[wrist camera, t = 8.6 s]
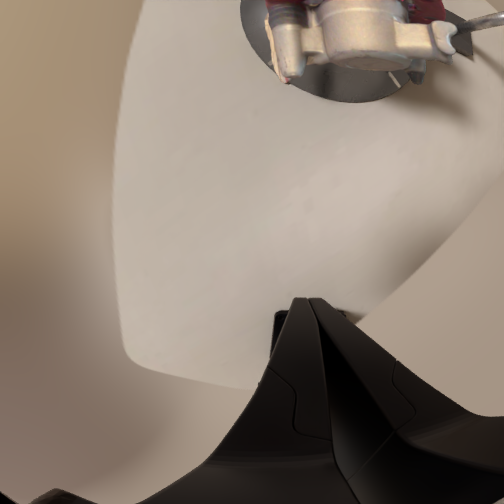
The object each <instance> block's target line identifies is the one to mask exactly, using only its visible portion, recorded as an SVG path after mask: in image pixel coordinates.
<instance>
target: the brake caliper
mask: <svg viewBox="0 0 504 504" xmlns="http://www.w3.org/2000/svg"><path fill="white" fill-rule="evenodd" d="M265 1H266V3H265V5H266V8H267V10H268V14H267V15H266V17H265V29H266V32H267V36H268V39H269V40H270V47H271V57H272V62H273V65H274V70H275V72H276V73H277V75H278V76H279V78H280V80H281V82H283V83H287V82H289V81H291V79H295V78H298V77H301V76H302V75H303V73H304V70H305V67H306V65H323V64H326V63H334V64H336V65H338V66H340V67H344V68H351V69H362V70H375V71H395V70H399V69H401V70H404V71H405V72H406V73H407V74H408V76H409V77H410V79H411V81H412V82H413V83H414V84H417V85H419V84H422V83H423V80H424V75H425V72H426V62H425V60H436V61H440V62H443V63H445V64H448V65H451V64H452V63H453V60H452V55H453V54H455V53H456V50H455V49H454V48H453V47H452V45H451V37H452V36H453V35H455V34H456V33H457V28H456V26H455V25H454V24H452V23H449V22H444V21H445V18H446V11H445V9H444V5H443V3H442V0H265Z"/></svg>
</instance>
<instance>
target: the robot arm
mask: <svg viewBox="0 0 504 504" xmlns="http://www.w3.org/2000/svg"><path fill="white" fill-rule="evenodd" d="M279 316H282V318H278V317H279ZM0 504H18V503H17V502H15V501H14V500H12V499H11V498H10V497H8V496H7V495H5V494H4V493H2V492H1V491H0ZM29 504H97V503H94V502H92V501H89V500H86V499H84V498H82V497H79V496H77V495H74V494H72V493H70V492H67V491H64V490H61V489H57V488H54V489H52V490H50V491H48V492H47V493H45V494H43V495H41V496H39V497H38V498H36V499H34V500H33V501H32V502H31V503H29ZM136 504H504V416H499V417H486V416H480V415H476V414H474V413H472V412H470V411H468V410H466V409H464V408H463V407H461V406H460V405H459V404H457V403H456V402H454V401H453V400H451V399H449V398H448V397H447V396H445V395H444V394H442V393H441V392H439V391H438V390H436V389H435V388H433V387H432V386H430V385H429V384H428V383H426V382H425V381H423V380H422V379H421V378H419V377H418V376H417V375H415V374H414V373H413V372H411V371H410V370H409V369H408V368H407V367H405V366H404V365H403V364H401V362H399V361H396V358H394V357H393V356H392V355H391V354H389V353H388V352H387V351H386V350H385V349H383V348H382V347H381V346H380V345H379V344H377V343H376V342H375V341H374V340H372V339H371V338H370V337H369V336H367V335H366V334H365V333H364V332H363V331H362V330H360V329H359V328H358V327H357V326H355V325H354V324H353V323H352V322H351V321H349V320H348V319H347V318H346V315H345V313H344V312H343V311H337V310H336V309H335V308H333V307H332V306H331V305H330V304H328V303H327V302H326V301H325V300H324V299H322V298H308V299H307V298H297V297H296V298H294V299H293V301H292V304H291V306H290V309H289V311H278V312H276V313H275V315H274V324H273V333H272V342H271V350H270V360H269V362H268V365H267V367H266V369H265V371H264V374H263V376H262V379H261V381H260V382H259V383H258V387H257V389H256V391H255V393H254V395H253V396H252V398H251V400H250V401H249V403H248V404H247V406H246V408H245V409H244V411H243V412H242V414H241V415H240V416H239V418H238V419H237V421H236V422H235V423H234V425H233V426H232V428H231V429H230V430H229V432H228V433H227V435H226V436H225V437H224V439H223V440H222V441H221V443H220V444H219V445H218V447H217V448H216V449H215V450H214V451H213V453H212V454H211V455H210V456H209V457H208V458H207V459H206V460H205V461H204V462H203V463H202V464H201V465H199V466H198V467H196V468H195V469H193V470H192V471H191V472H189V473H188V474H186V475H185V476H183V477H181V478H180V479H178V480H177V481H175V482H174V483H172V484H171V485H169V486H167V487H166V488H164V489H162V490H161V491H159V492H158V493H156V494H154V495H152V496H150V497H149V498H147V499H145V500H143V501H141V502H139V503H136Z"/></svg>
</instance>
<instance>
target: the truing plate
mask: <svg viewBox="0 0 504 504" xmlns="http://www.w3.org/2000/svg"><path fill="white" fill-rule="evenodd" d="M265 3H266V1H265V0H241V5H240V13H241V21H242V26H243V29H244V32H245V34H246V37H247V39H248V41H249V43H250V44H251V46H252V48H253V49H254V51H255V52H256V53H257V55H258V56H259V57H260V58H261V59H262V61H263V62H264V63H265V64H266V65H267V66H268V67H269V68H270V69H272V70H273V71H274V72H275V70H274V65H273V62H272V57H271V47H270V40H269V39H268V36H267V32H266V29H265V17H266V15H267V14H268V10H267V8H266V5H265ZM275 73H276V72H275ZM276 74H277V73H276ZM409 79H410V77H409V76H408V74H407V73H406V72H405V71H404V70H401V69H399V70H395V71H375V70H362V69H351V68H344V67H340V66H338V65H336V64H334V63H326V64H323V65H306V67H305V70H304V73H303V75H302V76H301V77H298V78H295V79H291V81H289V83H291V84H292V85H294V86H296V87H298V88H300V89H302V90H304V91H306V92H309V93H311V94H313V95H317V96H320V97H323V98H326V99H331V100H336V101H343V102H365V101H372V100H376V99H380V98H383V97H386V96H388V95H390V94H392V93H394V92H395V91H397V90H399V89H400V88H401V87H402V86H403V85H405V84H406V83H407V82H408V80H409Z"/></svg>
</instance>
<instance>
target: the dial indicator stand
mask: <svg viewBox="0 0 504 504" xmlns="http://www.w3.org/2000/svg"><path fill="white" fill-rule="evenodd" d="M445 11H446V18H445V21H444V22H449V23H452V24H454V25H455V26H456V28H457V33H456V34H455V35H453V36H452V37H451V45H452V47H453V48H454V49H455V50H456V51H458V52H460V53H461V54H463V55H465V56H469V55H473V51H472V41H471V33H470V32H473V31H478V30H482V29H487V28H491V27H496V26H502V25H504V11H502V12H498V13H494V14H489V15H486V16H482V17H478V18H474V19H471V20H468V21H466V20H464V19H463V18H461V17H459V16H457V15H456V14H454V13H452V12H450V11H448V10H446V9H445Z"/></svg>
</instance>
